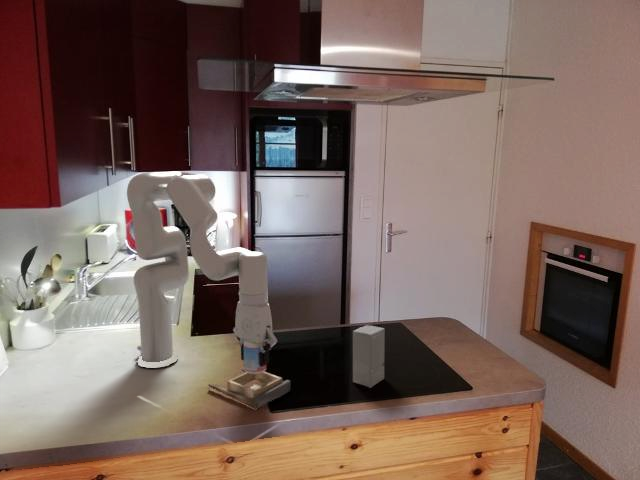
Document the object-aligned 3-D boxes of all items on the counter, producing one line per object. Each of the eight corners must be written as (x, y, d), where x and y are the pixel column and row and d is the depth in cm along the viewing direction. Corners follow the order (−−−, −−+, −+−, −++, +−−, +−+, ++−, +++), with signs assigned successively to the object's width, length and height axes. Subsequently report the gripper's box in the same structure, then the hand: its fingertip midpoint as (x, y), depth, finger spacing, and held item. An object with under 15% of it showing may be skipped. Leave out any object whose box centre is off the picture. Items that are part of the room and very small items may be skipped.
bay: (208, 392, 142) (208, 380, 141) (244, 375, 153) (244, 364, 152) (255, 412, 131) (254, 400, 131) (290, 392, 142) (290, 380, 142)
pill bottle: (262, 375, 136) (261, 335, 134) (240, 373, 137) (239, 334, 135) (269, 366, 142) (268, 328, 140) (248, 364, 143) (247, 326, 141)
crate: (227, 394, 140) (227, 380, 139) (254, 380, 148) (254, 368, 147) (255, 406, 133) (255, 392, 133) (282, 391, 142) (282, 378, 141)
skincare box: (370, 388, 145) (372, 336, 142) (349, 381, 149) (351, 330, 146) (385, 378, 151) (387, 327, 149) (365, 372, 156) (366, 322, 153)
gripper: (221, 295, 138) (223, 358, 141) (267, 307, 128) (269, 374, 131) (241, 289, 144) (242, 350, 147) (287, 300, 134) (288, 365, 137)
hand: (255, 361), depth 139 cm, fingers closed on pill bottle, 6 cm apart
